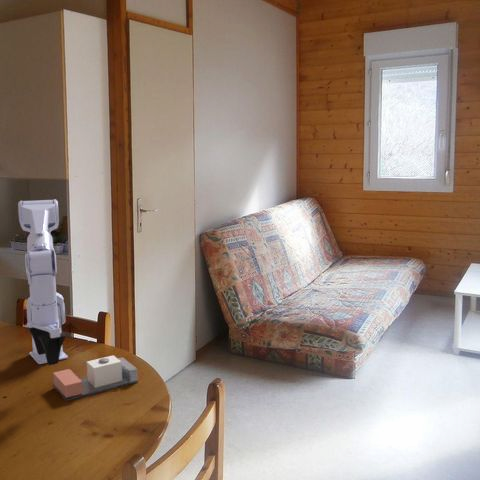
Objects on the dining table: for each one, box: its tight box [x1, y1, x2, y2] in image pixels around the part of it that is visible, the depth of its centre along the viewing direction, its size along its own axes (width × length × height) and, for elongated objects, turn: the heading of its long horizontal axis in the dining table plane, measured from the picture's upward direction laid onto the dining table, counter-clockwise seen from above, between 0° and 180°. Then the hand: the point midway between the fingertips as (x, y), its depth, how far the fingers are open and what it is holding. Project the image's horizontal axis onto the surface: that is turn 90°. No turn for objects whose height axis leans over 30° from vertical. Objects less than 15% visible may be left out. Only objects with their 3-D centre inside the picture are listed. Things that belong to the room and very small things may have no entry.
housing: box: [86, 355, 122, 388], centre depth 145 cm, size 5×7×5 cm
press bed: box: [53, 357, 139, 402], centre depth 144 cm, size 9×18×4 cm, turn 124°
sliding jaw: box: [52, 368, 83, 398], centre depth 140 cm, size 9×4×3 cm, turn 34°
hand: (47, 358), depth 136 cm, fingers open, 7 cm apart
